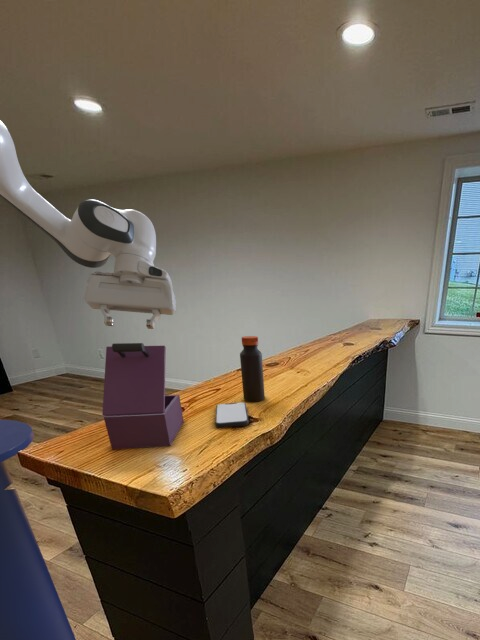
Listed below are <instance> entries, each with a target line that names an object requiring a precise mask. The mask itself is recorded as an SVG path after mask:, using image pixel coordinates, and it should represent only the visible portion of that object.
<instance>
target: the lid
mask: <svg viewBox="0 0 480 640" xmlns="http://www.w3.org/2000/svg"><path fill="white" fill-rule="evenodd" d="M166 349H167V348H166V345H145V344H144V342H127V343H126V342H124V343H123V342H122V343H120V342H119V343H117V342H116V343H112V344H111V346H106V348H105V364H104V381H103V382H104V383H103V396H102V397H103V398H102V399H103V400H102V412H101V413H102V416H103V417H105V416H113V415H135V414H156V413H165V395H166V355H167V354H166Z"/></svg>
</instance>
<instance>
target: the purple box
mask: <svg viewBox="0 0 480 640" xmlns="http://www.w3.org/2000/svg"><path fill="white" fill-rule="evenodd" d="M103 421H104V424H105V427H106V432H107V435H108V439H109V443H110V447H111V450H125V449H126V450H127V449H141V448H142V449H143V448H161V447H171V446H172V444H173V442H174V440H175V438H176V437H177V435H178V433H179V431H180V430H181V428H182V426H183V424H184V423H185V421H184V415H183V409H182V402H181V397H180V394H165V413H156V414H135V415H113V416H103Z"/></svg>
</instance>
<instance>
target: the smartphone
mask: <svg viewBox="0 0 480 640" xmlns="http://www.w3.org/2000/svg"><path fill="white" fill-rule="evenodd" d="M214 421H215V422H214V425H215V427H216V428H217V429H218V428H219V429H224V428H233V427H244V426H248V425H249V424H250V421H249V414H248V408H247V404H246V402H231V403H219V404H216V406H215V418H214Z"/></svg>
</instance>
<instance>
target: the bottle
mask: <svg viewBox="0 0 480 640" xmlns="http://www.w3.org/2000/svg"><path fill="white" fill-rule="evenodd" d="M241 345H242V347H243V349H242V350H241V352H240V353H239V362H240V372H241V382H242V383H241V385H242V393H243V394H242V395H243V400H244V401H245V402H249V403H259V402H262V401H264V400H265V398H266V396H265V382H264V380H265V379H264V366H263V365H264V363H263V353H262V352H261V350H259V349H258V347H259V337H258V336H256V335H245V336H244V335H243V336H241Z"/></svg>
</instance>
